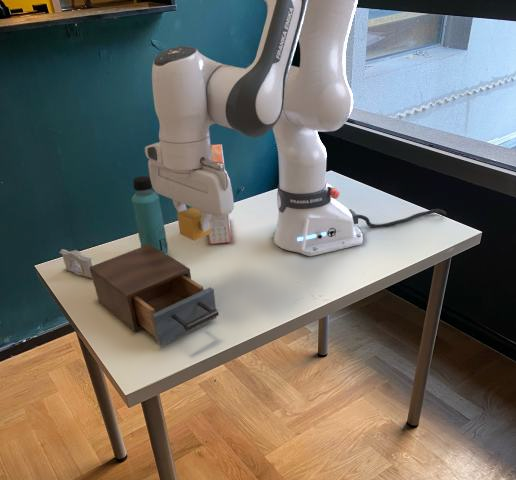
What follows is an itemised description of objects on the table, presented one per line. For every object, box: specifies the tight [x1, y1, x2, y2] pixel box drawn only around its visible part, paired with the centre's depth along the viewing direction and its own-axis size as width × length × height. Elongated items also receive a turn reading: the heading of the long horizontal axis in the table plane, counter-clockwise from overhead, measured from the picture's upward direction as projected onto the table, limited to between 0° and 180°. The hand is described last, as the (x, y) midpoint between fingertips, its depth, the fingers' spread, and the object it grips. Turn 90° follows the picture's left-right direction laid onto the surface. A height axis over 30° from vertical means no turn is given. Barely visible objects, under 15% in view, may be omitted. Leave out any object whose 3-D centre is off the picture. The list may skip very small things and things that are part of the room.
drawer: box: [131, 275, 220, 347], centre depth 101 cm, size 20×13×7 cm
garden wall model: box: [59, 249, 93, 279], centre depth 119 cm, size 12×2×6 cm, turn 58°
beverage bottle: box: [131, 175, 169, 255], centre depth 120 cm, size 6×7×20 cm
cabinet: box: [89, 244, 192, 333], centre depth 108 cm, size 16×15×9 cm
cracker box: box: [207, 143, 232, 245], centre depth 130 cm, size 14×6×21 cm, turn 5°
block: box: [176, 207, 211, 241], centre depth 99 cm, size 4×4×4 cm
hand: (194, 225), depth 100 cm, fingers closed on block, 4 cm apart
